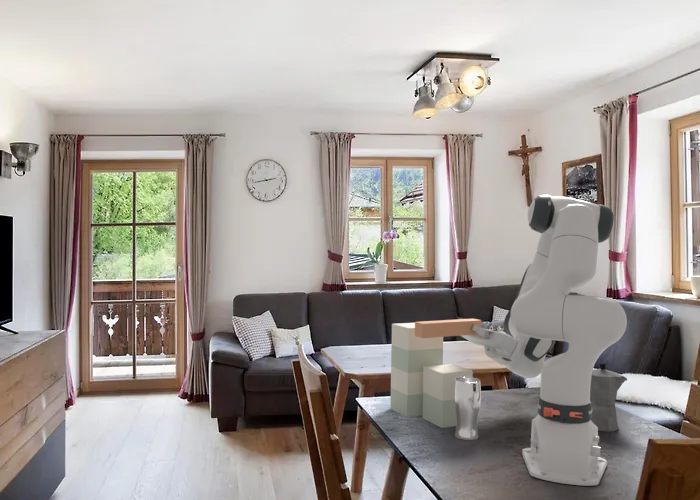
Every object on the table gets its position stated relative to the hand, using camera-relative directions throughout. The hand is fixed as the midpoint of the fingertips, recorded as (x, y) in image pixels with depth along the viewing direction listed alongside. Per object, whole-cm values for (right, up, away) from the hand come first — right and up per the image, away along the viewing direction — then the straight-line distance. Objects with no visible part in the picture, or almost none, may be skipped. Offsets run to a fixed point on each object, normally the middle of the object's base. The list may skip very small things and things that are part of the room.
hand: (466, 325), depth 171 cm
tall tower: (-14, -27, +7) cm, 31 cm away
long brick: (-6, -2, -3) cm, 7 cm away
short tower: (-6, -27, -2) cm, 28 cm away
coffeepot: (+36, -28, -5) cm, 46 cm away
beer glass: (-3, -27, -16) cm, 32 cm away
